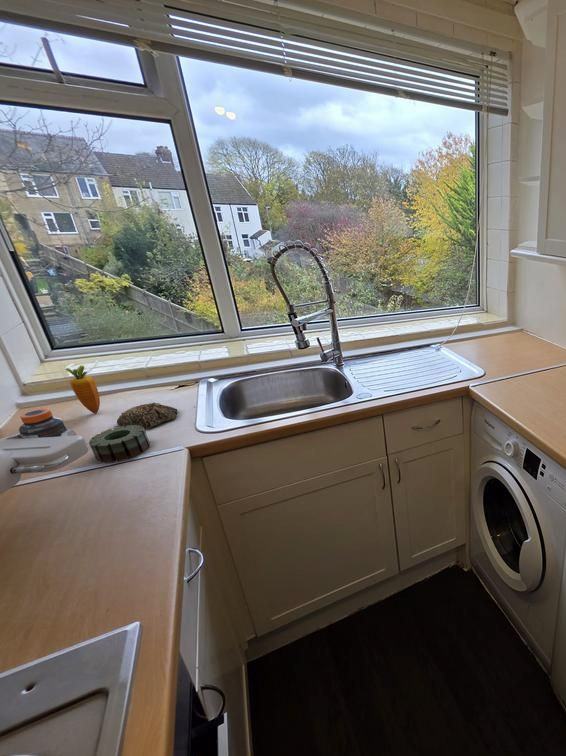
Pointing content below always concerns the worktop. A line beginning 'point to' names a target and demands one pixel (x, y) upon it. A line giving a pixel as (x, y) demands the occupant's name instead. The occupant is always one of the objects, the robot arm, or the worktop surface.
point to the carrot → (85, 389)
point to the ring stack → (119, 443)
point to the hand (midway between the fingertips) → (49, 433)
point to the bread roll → (147, 415)
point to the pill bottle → (40, 424)
